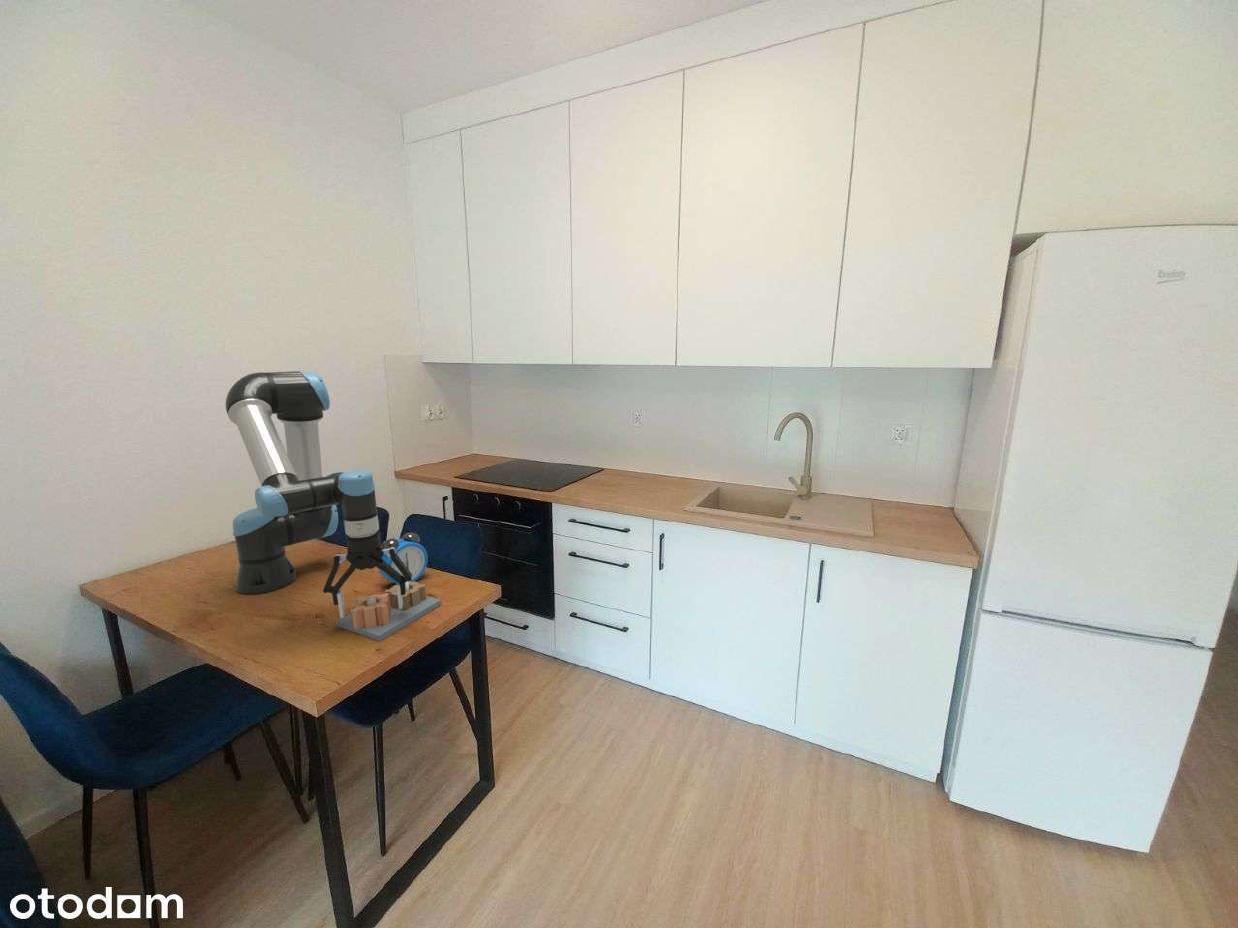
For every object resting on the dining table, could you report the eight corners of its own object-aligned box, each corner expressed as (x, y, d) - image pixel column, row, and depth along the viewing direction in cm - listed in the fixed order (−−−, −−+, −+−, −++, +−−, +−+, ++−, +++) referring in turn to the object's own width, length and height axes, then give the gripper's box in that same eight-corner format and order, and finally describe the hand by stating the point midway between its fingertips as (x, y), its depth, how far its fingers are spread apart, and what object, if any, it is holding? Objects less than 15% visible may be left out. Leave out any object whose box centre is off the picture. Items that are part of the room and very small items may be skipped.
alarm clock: (390, 592, 145) (384, 544, 141) (379, 586, 148) (374, 540, 145) (430, 576, 155) (425, 531, 152) (419, 571, 159) (414, 527, 155)
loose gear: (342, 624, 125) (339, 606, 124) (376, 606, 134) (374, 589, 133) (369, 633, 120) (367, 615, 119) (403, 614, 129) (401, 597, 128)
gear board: (337, 626, 127) (333, 601, 125) (400, 593, 144) (398, 571, 143) (379, 641, 120) (376, 615, 118) (441, 604, 137) (439, 581, 136)
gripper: (301, 544, 115) (313, 626, 119) (415, 531, 123) (423, 609, 127) (309, 534, 121) (321, 611, 126) (417, 522, 129) (424, 596, 134)
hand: (372, 610), depth 127 cm, fingers open, 13 cm apart
